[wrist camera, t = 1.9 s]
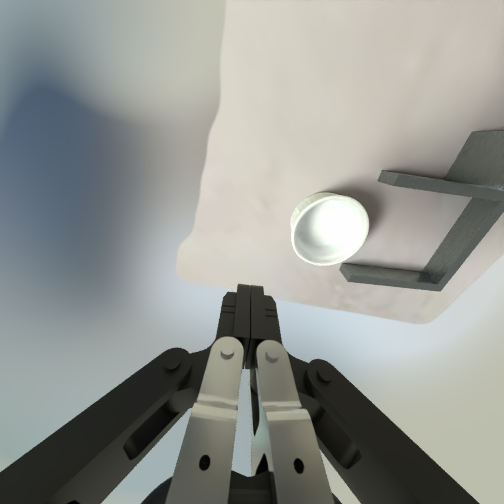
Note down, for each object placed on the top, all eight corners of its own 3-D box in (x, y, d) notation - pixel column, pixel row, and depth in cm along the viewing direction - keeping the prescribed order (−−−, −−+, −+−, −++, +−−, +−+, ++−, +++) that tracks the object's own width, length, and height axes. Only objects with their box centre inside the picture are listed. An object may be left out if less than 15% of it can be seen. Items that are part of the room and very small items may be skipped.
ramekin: (279, 245, 28) (283, 261, 24) (296, 181, 24) (304, 189, 20) (337, 253, 29) (350, 270, 25) (363, 193, 24) (384, 203, 21)
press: (403, 120, 21) (892, 46, 5) (522, 140, 22) (1250, 133, 6) (339, 269, 30) (436, 408, 14) (424, 279, 31) (602, 418, 15)
